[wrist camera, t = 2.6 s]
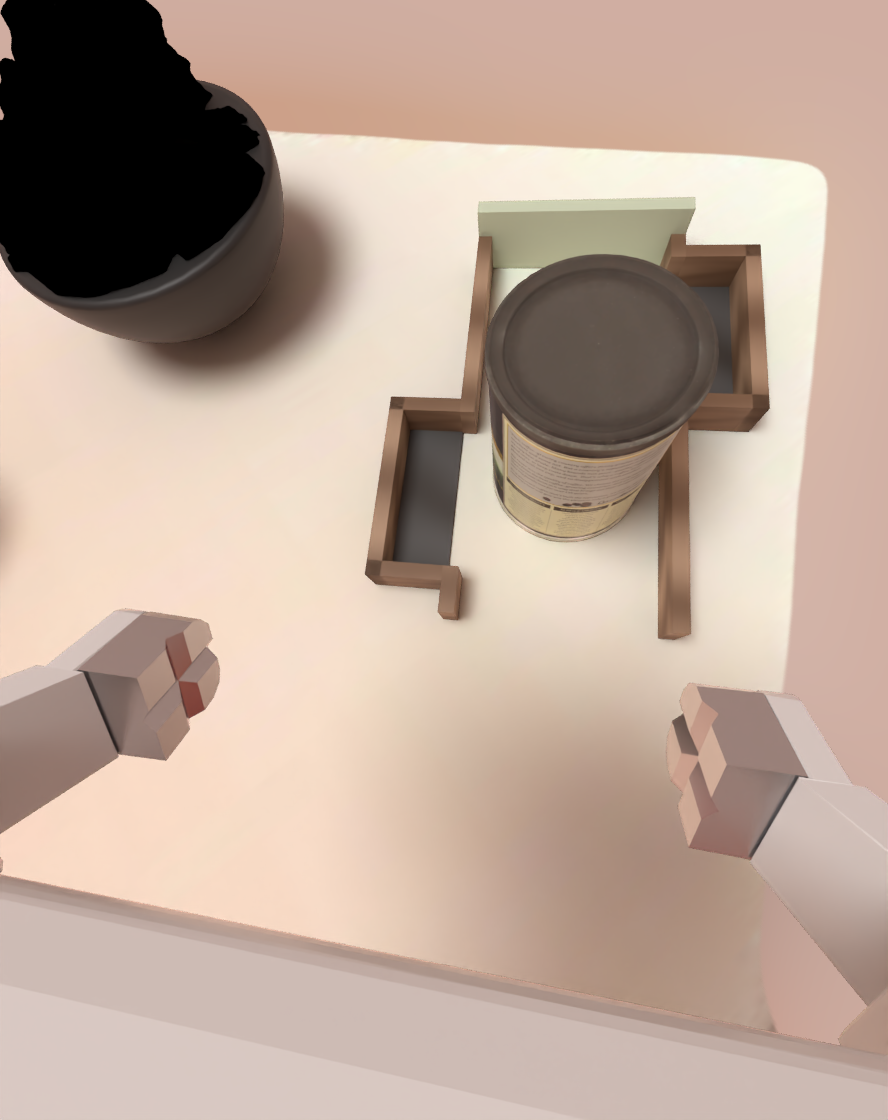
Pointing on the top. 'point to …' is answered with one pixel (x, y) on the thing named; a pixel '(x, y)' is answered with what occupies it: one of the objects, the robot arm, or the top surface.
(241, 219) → the coal bowl
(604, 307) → the coffee can
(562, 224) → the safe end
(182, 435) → the top surface
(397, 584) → the trap lane
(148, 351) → the top surface
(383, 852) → the top surface
